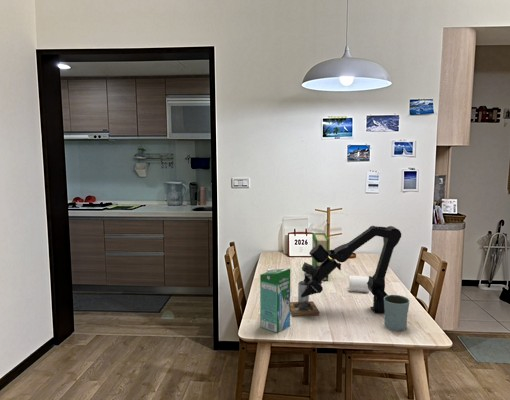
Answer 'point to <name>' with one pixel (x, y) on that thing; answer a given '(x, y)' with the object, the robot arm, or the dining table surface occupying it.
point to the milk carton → (275, 299)
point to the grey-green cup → (396, 312)
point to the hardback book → (316, 240)
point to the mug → (358, 283)
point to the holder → (297, 313)
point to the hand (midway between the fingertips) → (300, 292)
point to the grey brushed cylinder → (302, 301)
